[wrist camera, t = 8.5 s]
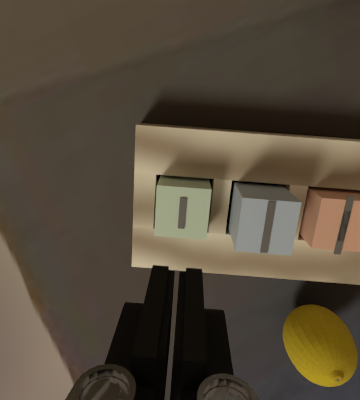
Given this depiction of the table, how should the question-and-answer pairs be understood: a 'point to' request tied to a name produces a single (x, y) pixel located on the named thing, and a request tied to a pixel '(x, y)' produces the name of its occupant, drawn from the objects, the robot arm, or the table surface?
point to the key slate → (263, 218)
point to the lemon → (320, 345)
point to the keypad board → (220, 195)
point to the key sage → (182, 207)
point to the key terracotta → (331, 219)
